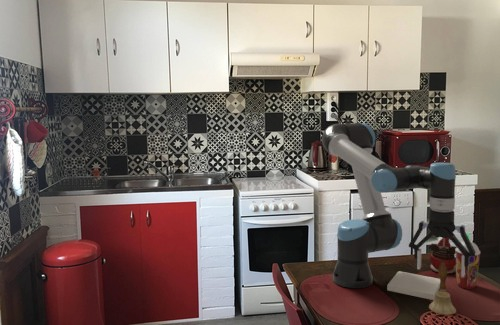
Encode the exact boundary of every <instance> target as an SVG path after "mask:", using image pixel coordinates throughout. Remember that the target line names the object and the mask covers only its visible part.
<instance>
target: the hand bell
mask: <svg viewBox="0 0 500 325" xmlns="http://www.w3.org/2000/svg"><path fill="white" fill-rule="evenodd" d="M438 277H439V278H438V279H440V289H439V291H437V292H436V293H435V298H434V300H432V302H431V303H430V304H429V305H428V309H429V310H430V311H431V312H433V313H436V314H439V315H444V316H445V315H446V316H451V315H454V314H456V313H457V309H456V307H455V306H454V305H453V303H452V300H451V294H450V293H449V292H447V291H446V290H447V289H446V281H447V277H448V273H447V268H446V265H445V263H444V262H441V265H440V267H439V272H438Z"/></svg>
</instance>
